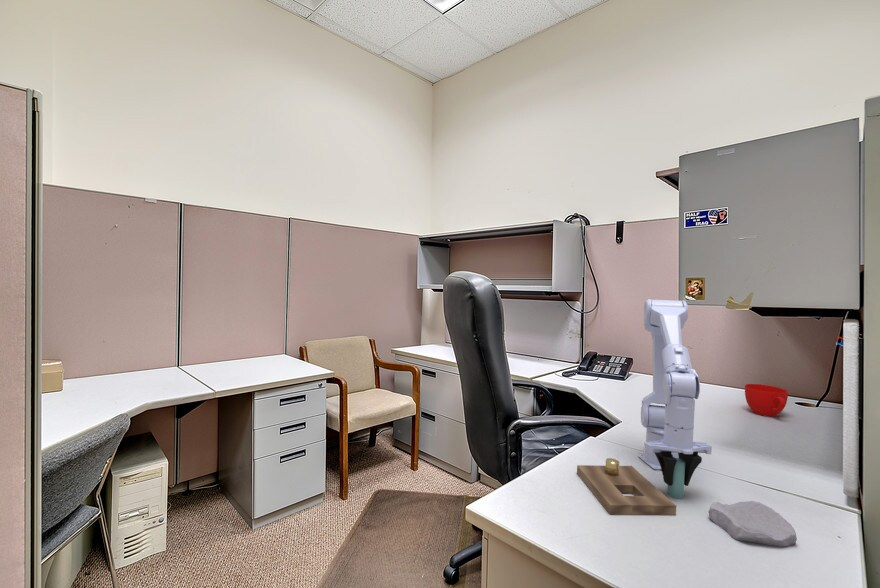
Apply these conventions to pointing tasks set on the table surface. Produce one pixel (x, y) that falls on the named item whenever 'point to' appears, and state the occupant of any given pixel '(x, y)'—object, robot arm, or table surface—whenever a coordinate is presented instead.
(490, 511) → the table surface
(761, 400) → the ceramic cup
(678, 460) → the teal pin
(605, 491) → the pin board
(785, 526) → the stone block
